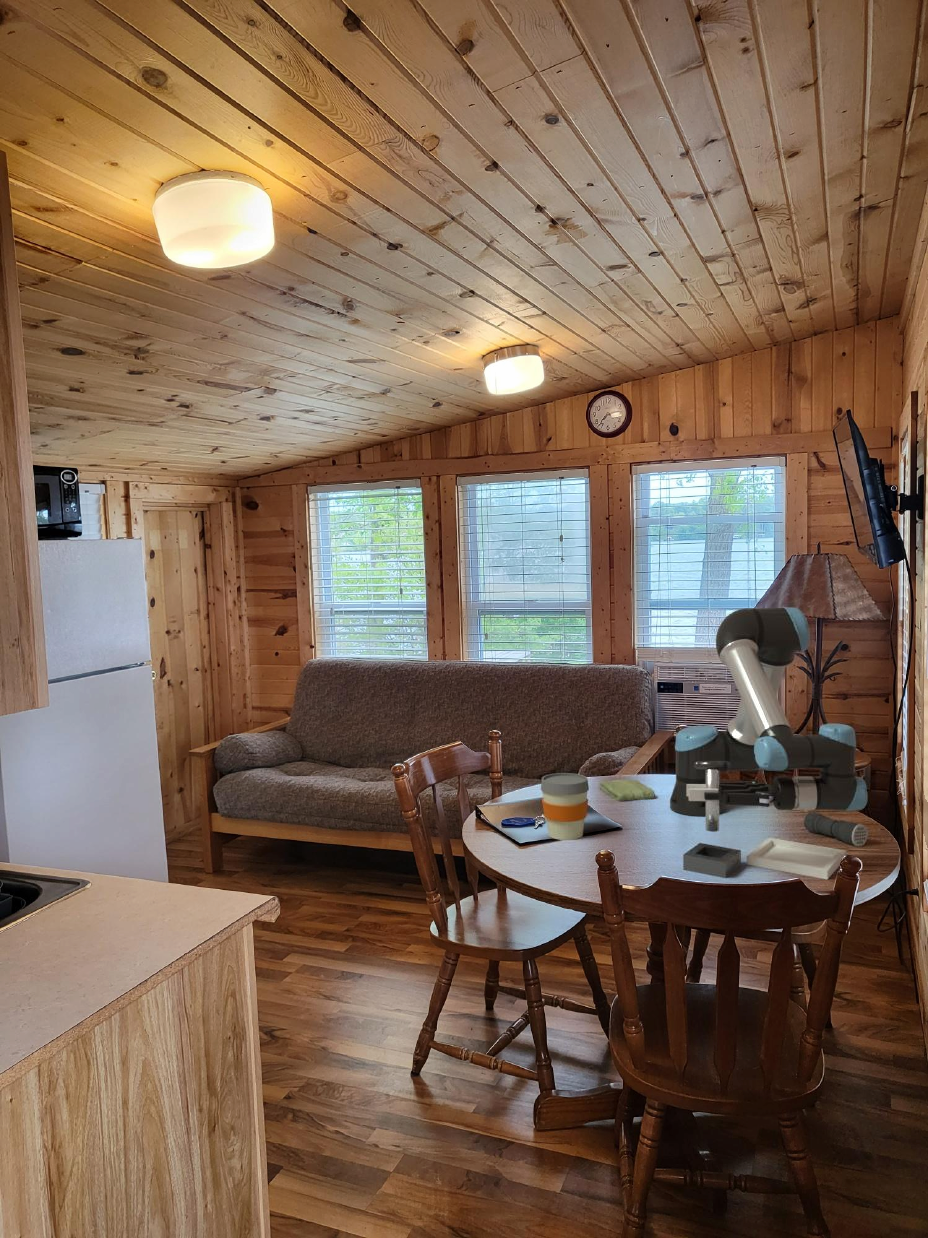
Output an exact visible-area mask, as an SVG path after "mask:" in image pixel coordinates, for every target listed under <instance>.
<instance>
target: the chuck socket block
mask: <svg viewBox="0 0 928 1238" xmlns="http://www.w3.org/2000/svg"><path fill="white" fill-rule="evenodd" d="M682 857H683V858H682V862H683V863H682V865H683V866H682V867H683V868H682V869H683V870H685V871H687V872H688V871H689V872H694V873H698V874H699V873H700V874H705V875H707V876H708V875H709V876H713V877H714V876H715V877H719V878H725V879H726V878H727V877H728V876H730V875H731V874H732V873H733V872H735V871H736V870H737V869H738V868H740V867H741V865H742V850H741V849H738V848H737V849H736V848H731V847H727V846H719V845H714V844H709V843H703V842H699V843H698V844H696V845H695V846H693V847H692V848H691V849H689V850H687V851H686V852H685V853H684V854H682Z"/></svg>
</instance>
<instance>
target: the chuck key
mask: <svg viewBox="0 0 928 1238" xmlns="http://www.w3.org/2000/svg"><path fill="white" fill-rule="evenodd" d="M694 767H695V768H696V769H706V789H718V792H719V781H720V772H719V769H729V768H730V767H731V764H730V763H729V762H728V761H696V762H695V763H694ZM705 831H707V832H713V833H716V832H720V814H719V800H718V801H706V816H705Z"/></svg>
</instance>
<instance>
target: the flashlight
mask: <svg viewBox="0 0 928 1238" xmlns="http://www.w3.org/2000/svg"><path fill="white" fill-rule="evenodd" d="M803 825H804V828H805V830H807V831H808V832H809V833H813V834H817V835H818V834H820V835H821V834H822V835H825V836H830V837H833V838H835V839H836V840H838V841H842V842H844V843H845V844H848V845H852V846H855V847H858V848H859V847H862V846H864V845H865V843H866V842H867V840H868V833H869V832H868V828H867V826H866V825H864V824H861V823H858V822H854V821H846V820H843V819H841V820H836V819H833V818H831V817H828V816H825V815H824V814H822V813H819V812H815V811H813V812H809V813H808V812H807V814H805V817H804V821H803Z"/></svg>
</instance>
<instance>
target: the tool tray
mask: <svg viewBox="0 0 928 1238" xmlns="http://www.w3.org/2000/svg"><path fill="white" fill-rule="evenodd" d="M846 852H847V851H846V850H845V849H840V848H834V847H827V846H821V845H814V844H808V843H803V842H796V841H790V840H786V839H785V840H783V839H778V838H773V837H768V838H766V839H765V840H764V841H763V842H762V843H760V844H759V845H758V846H756V848H755V849H754V850H752V851H751V852H749V854H747V855H746V865H748V866H754V867H759V868H764V869H769V870H775V871H778V872H779V871H780V872H786V873H792V874H796V875H800V876H801V875H802V876H806V877H811V878H816V879H822V880H823V879H824V880H828V879H829V878H830V877H831V876H832V875H833V874H834V873H835V871H837V869H838V868H839V867H840V866H841V865H840V862H841V860H842V858H843V857H844V856H846V854H847V853H846Z"/></svg>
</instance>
